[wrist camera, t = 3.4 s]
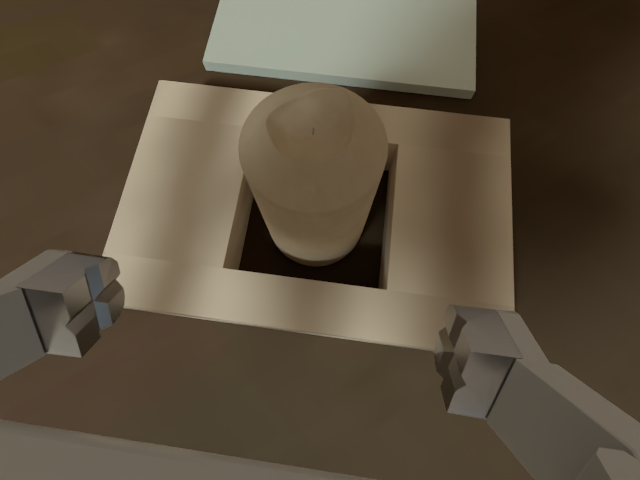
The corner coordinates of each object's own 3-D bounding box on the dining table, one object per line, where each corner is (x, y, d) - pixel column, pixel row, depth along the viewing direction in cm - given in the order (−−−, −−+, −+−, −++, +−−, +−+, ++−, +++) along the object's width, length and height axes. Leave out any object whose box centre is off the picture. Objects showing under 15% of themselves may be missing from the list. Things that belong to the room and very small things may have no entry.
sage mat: (206, 70, 25) (202, 61, 24) (240, -54, 28) (238, -65, 27) (470, 99, 24) (475, 90, 23) (472, -32, 27) (476, -43, 26)
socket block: (121, 307, 20) (87, 300, 17) (179, 112, 24) (159, 79, 21) (486, 358, 19) (515, 360, 16) (485, 148, 23) (509, 119, 20)
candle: (321, 164, 22) (321, 26, 13) (381, 227, 21) (431, 127, 12) (251, 217, 21) (194, 110, 12) (310, 287, 20) (301, 231, 11)
